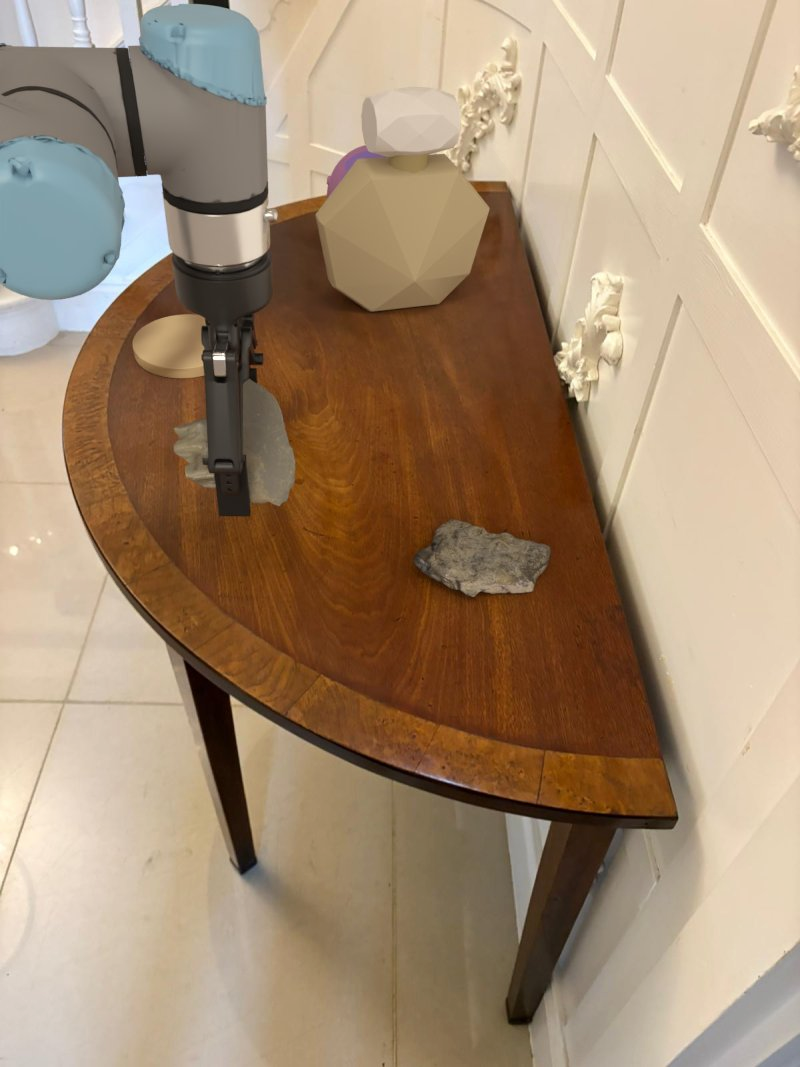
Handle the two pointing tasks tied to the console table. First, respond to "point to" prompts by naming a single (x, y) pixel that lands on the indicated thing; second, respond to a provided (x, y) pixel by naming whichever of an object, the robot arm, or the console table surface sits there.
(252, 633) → the console table surface
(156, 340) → the maple disc
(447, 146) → the perfume bottle
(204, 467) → the fossil
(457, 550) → the stone
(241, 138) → the robot arm
